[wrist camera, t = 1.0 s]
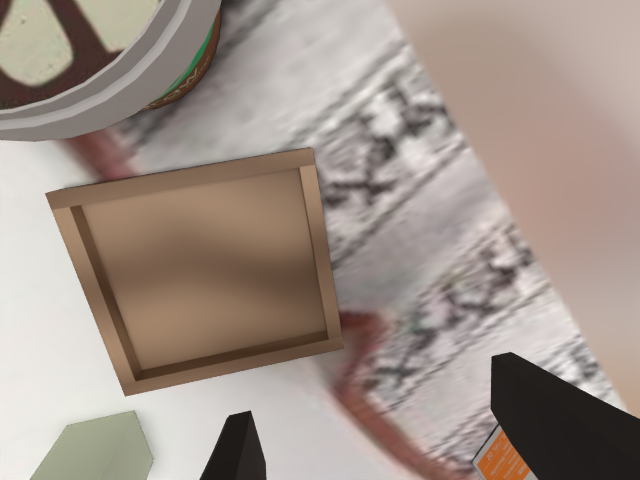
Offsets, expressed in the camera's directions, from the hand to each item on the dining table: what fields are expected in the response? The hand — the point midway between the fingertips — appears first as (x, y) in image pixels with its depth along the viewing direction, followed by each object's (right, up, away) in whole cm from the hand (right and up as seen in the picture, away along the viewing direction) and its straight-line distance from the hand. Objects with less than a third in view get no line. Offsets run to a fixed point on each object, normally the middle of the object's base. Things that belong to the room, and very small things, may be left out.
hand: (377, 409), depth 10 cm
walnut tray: (-7, +3, +10) cm, 13 cm away
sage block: (-15, -8, +12) cm, 21 cm away
